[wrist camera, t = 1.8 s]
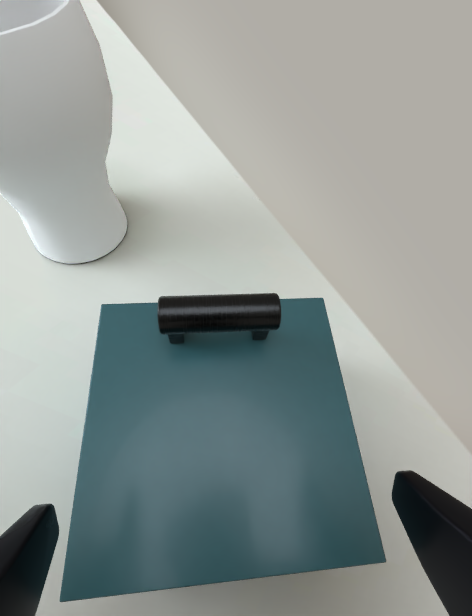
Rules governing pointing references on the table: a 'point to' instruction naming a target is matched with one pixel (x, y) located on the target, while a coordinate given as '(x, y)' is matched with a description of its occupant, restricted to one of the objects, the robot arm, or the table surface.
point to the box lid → (215, 449)
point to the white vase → (57, 130)
